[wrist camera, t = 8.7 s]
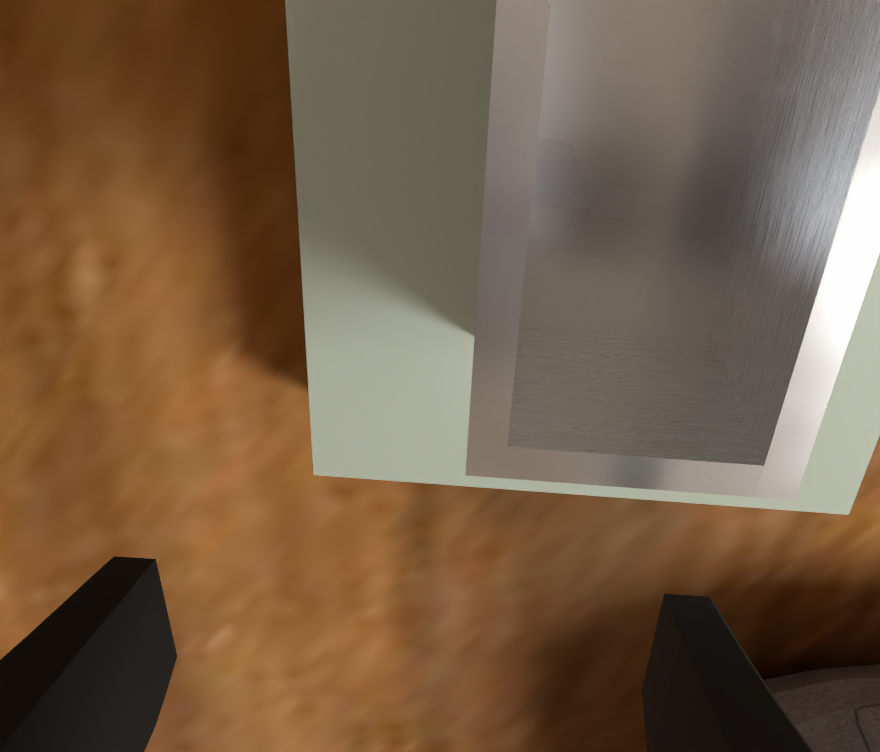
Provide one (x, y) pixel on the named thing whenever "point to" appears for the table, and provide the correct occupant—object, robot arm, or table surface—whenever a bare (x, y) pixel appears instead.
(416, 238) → the stand
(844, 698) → the soft grey pack
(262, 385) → the table surface
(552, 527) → the table surface
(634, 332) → the box
